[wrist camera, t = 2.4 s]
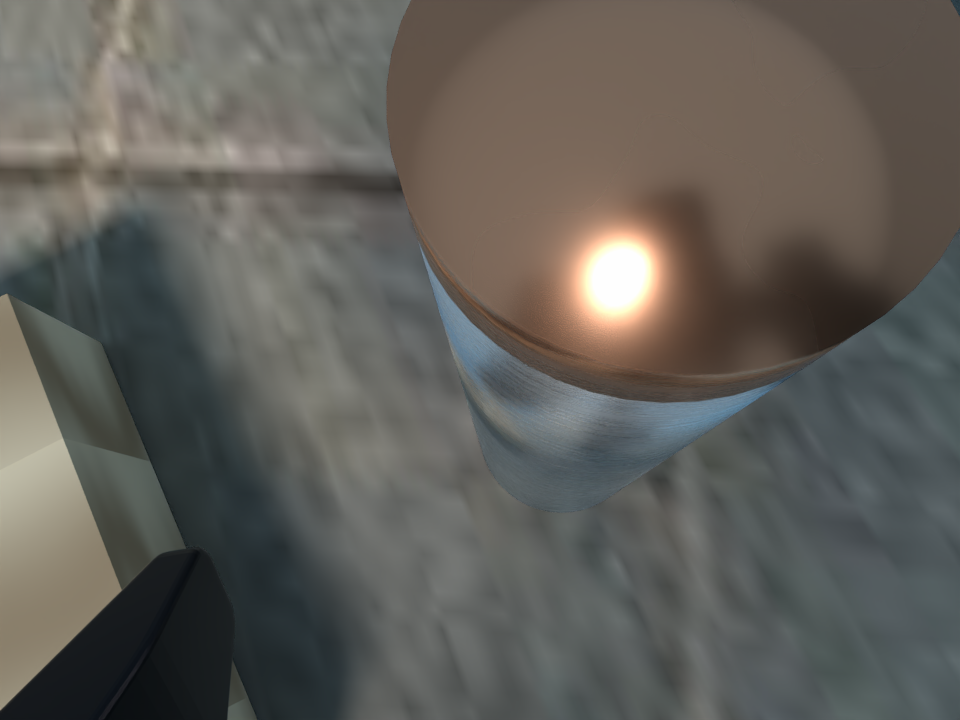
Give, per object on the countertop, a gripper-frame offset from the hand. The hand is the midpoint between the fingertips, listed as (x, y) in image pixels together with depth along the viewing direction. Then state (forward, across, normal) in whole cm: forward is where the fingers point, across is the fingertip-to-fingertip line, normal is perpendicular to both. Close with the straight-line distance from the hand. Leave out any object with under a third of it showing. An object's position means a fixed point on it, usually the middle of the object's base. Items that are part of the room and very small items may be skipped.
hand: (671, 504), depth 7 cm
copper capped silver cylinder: (+8, 0, +5) cm, 10 cm away
